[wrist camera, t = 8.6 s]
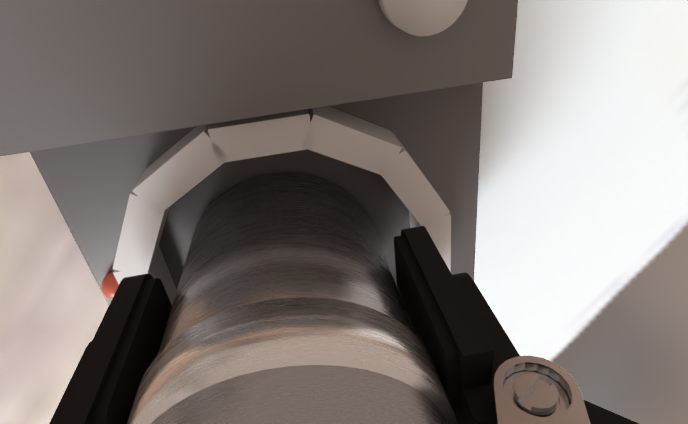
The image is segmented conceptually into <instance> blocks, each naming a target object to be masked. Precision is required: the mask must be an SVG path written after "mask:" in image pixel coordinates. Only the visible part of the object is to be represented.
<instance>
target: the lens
mask: <svg viewBox="0 0 688 424" xmlns="http://www.w3.org/2000/svg"><path fill="white" fill-rule="evenodd" d="M127 424H458V423H457V420H456V417H455V414H454V412H453V409H452V407H451V404H450V402H449V399H448V397H447V394H446V392H445V389H444V387H443V384H442V382H441V379H440V377H439V374H438V372H437V369H436V367H435V364H434V361H433V359H432V357H431V355H430V354H429V352H428V350H427V348H426V347H425V345H424V344H423V343H422V342H421V340H420V339H419V338H418V337H417V336H416V335H415V334H414V332H413V329H412V326H411V324H410V321H409V318H408V316H407V313H406V310H405V308H404V305H403V302H402V300H401V297H400V294H399V292H398V289H397V286H396V284H395V281H394V278H393V276H392V273H391V270H390V268H389V265H388V262H387V260H386V257H385V254H384V252H383V249H382V246H381V244H380V241H379V238H378V236H377V233H376V230H375V228H374V225H373V222H372V220H371V218H370V216H369V214H368V212H367V211H366V210H365V208H364V207H363V206H362V204H361V203H360V202H359V201H358V200H357V199H356V198H355V197H354V196H353V195H352V194H350V193H349V192H348V191H347V190H345V189H344V188H342V187H340V186H339V185H337V184H335V183H333V182H331V181H328V180H326V179H323V178H321V177H317V176H313V175H309V174H303V173H293V172H280V173H270V174H265V175H261V176H256V177H253V178H250V179H248V180H245V181H242V182H240V183H238V184H236V185H234V186H232V187H231V188H229V189H228V190H226V191H225V192H223V193H222V194H220V195H219V196H218V197H217V198H216V199H215V200H214V201H213V202H212V203H211V204H210V205H209V206H208V207H207V209H206V210H205V211H204V213H203V214H202V216H201V218H200V219H199V221H198V223H197V226H196V228H195V231H194V234H193V237H192V240H191V244H190V247H189V251H188V254H187V257H186V261H185V264H184V268H183V271H182V274H181V278H180V281H179V285H178V288H177V291H176V295H175V298H174V302H173V305H172V308H171V312H170V315H169V319H168V322H167V325H166V329H165V332H164V336H163V339H162V342H161V346H160V349H159V353H158V355H157V357H156V358H155V359H154V360H153V361H152V363H151V364H150V366H149V367H148V369H147V370H146V372H145V373H144V376H143V378H142V380H141V383H140V385H139V387H138V390H137V393H136V397H135V400H134V403H133V406H132V409H131V412H130V416H129V419H128V422H127Z"/></svg>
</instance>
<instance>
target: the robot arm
mask: <svg viewBox="0 0 688 424" xmlns="http://www.w3.org/2000/svg"><path fill="white" fill-rule="evenodd" d="M394 252H395V266H396V281H397V289H398V292H399V294H400V297H401V300H402V302H403V305H404V308H405V310H406V313H407V316H408V318H409V321H410V324H411V326H412V329H413V332H414V334H415V335H416V336H417V337H418V338H419V339H420V340H421V342H422V343H423V344H424V345H425V347H426V348H427V350H428V352H429V354H430V355H431V357H432V359H433V361H434V364H435V367H436V369H437V372H438V374H439V377H440V379H441V382H442V384H443V387H444V389H445V392H446V394H447V397H448V399H449V402H450V404H451V407H452V409H453V412H454V414H455V417H456V420H457V423H458V424H638V423H636V422H633V421H631V420H629V419H627V418H624V417H622V416H620V415H617V414H615V413H613V412H610V411H608V410H606V409H604V408H601V407H599V406H597V405H594V404H592V403H589V402H587V401H585V400H583V396H582V393H581V391H580V389H579V387H578V385H577V383H576V381H575V380H574V378H573V377H572V376H571V375H570V374H569V373H568V372H567V371H566V370H564V369H563V368H562V367H560V366H559V365H557V364H556V363H553V362H551V361H549V360H546V359H544V358H539V357H534V356H519V354H518V352H517V351H516V349H515V347H514V346H513V344H512V343H511V341H510V339H509V338H508V336H507V335H506V333H505V331H504V330H503V328H502V326H501V325H500V323H499V322H498V320H497V318H496V317H495V315H494V313H493V312H492V310H491V309H490V307H489V305H488V304H487V302H486V300H485V299H484V297H483V296H482V294H481V292H480V291H479V289H478V287H477V286H476V284H475V283H474V281H473V279H472V278H471V277H470V275H469V274H468V273H466V272H465V273H459V274H453V275H452V274H451V272H450V271H449V269H448V267H447V265H446V263H445V262H444V260H443V258H442V256H441V254H440V253H439V251H438V249H437V247H436V246H435V244H434V242H433V240H432V238H431V237H430V235H429V233H428V231H427V229H426V228H425V227H424V226H419V227H414V228H408V229H402V230H401V236H396V237H394ZM171 308H172V304H171V302H170V300H169V297H168V295H167V292H166V290H165V288H164V285H163V283H162V281H161V280H160V279H159V278H155V279H154V278H153V276H152V275H151V274H142V275H136V276H131V277H125V278H123V279H122V280H121V282H120V284H119V286H118V288H117V290H116V292H115V295H114V297H113V299H112V301H111V303H110V305H109V307H108V309H107V311H106V313H105V316H104V318H103V320H102V322H101V324H100V326H99V328H98V330H97V332H96V334H95V337H94V339H93V341H91V342H90V343H89V345H88V346H87V348H86V349H85V351H84V354H83V356H82V358H81V360H80V362H79V364H78V366H77V368H76V370H75V372H74V374H73V376H72V378H71V380H70V382H69V384H68V387H67V389H66V391H65V393H64V395H63V397H62V399H61V401H60V403H59V405H58V407H57V409H56V411H55V413H54V415H53V418H52V420H51V422H50V424H127V422H128V419H129V416H130V412H131V409H132V406H133V403H134V400H135V397H136V393H137V390H138V387H139V385H140V383H141V380H142V378H143V376H144V373H145V372H146V370H147V369H148V367H149V366H150V364H151V363H152V361H153V360H154V359H155V358H156V357H157V355H158V353H159V349H160V346H161V342H162V339H163V336H164V332H165V329H166V325H167V322H168V319H169V315H170V312H171Z"/></svg>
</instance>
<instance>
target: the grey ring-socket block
mask: <svg viewBox="0 0 688 424" xmlns="http://www.w3.org/2000/svg"><path fill="white" fill-rule="evenodd" d="M517 5H518V0H0V156H5V155H11V154H18V153H24V152H30V153H31V155H32V157H33V159H34V161H35V163H36V165H37V167H38V169H39V171H40V173H41V175H42V177H43V179H44V181H45V183H46V184H47V186H48V188H49V190H50V192H51V194H52V196H53V198H54V200H55V202H56V204H57V206H58V208H59V210H60V212H61V214H62V215H63V217H64V219H65V221H66V223H67V225H68V227H69V229H70V231H71V233H72V235H73V237H74V239H75V241H76V243H77V245H78V247H79V248H80V250H81V252H82V254H83V256H84V258H85V260H86V262H87V264H88V266H89V268H90V270H91V272H92V274H93V276H94V278H95V279H96V281H97V283H98V285H99V287H100V289H101V291H102V293H103V295H104V297H105V299H106V301H107V303H108V305H110V303H111V301H112V299H113V297H114V295H115V292H116V290H117V288H118V286H119V284H120V282H121V280H122V279H123V278H125V277H131V276H136V275H142V274H151V275H152V276H153V278H154V279H155V278H159V279H160V280H161V281H162V283H163V285H164V288H165V290H166V292H167V295H168V297H169V300H170V302H171V304H172V305H173V302H174V298H175V295H176V291H177V288H178V285H179V281H180V278H181V274H182V271H183V268H184V264H185V261H186V257H187V254H188V251H189V247H190V244H191V240H192V237H193V234H194V231H195V228H196V226H197V223H198V221H199V219H200V218H201V216H202V214H203V213H204V211H205V210H206V209H207V207H208V206H209V205H210V204H211V203H212V202H213V201H214V200H215V199H216V198H217V197H218V196H219V195H220V194H222V193H223V192H225V191H226V190H228V189H229V188H231V187H232V186H234V185H236V184H238V183H240V182H242V181H245V180H248V179H250V178H253V177H256V176H261V175H265V174H270V173H280V172H293V173H303V174H309V175H313V176H317V177H321V178H323V179H326V180H328V181H331V182H333V183H335V184H337V185H339V186H340V187H342V188H344V189H345V190H347V191H348V192H349V193H350V194H352V195H353V196H354V197H355V198H356V199H357V200H358V201H359V202H360V203H361V204H362V206H363V207H364V208H365V210H366V211H367V212H368V214H369V216H370V218H371V220H372V222H373V225H374V228H375V230H376V233H377V236H378V238H379V241H380V244H381V246H382V249H383V252H384V254H385V257H386V260H387V262H388V265H389V268H390V270H391V273H392V276H393V278H394V281H395V284H396V286H397V281H396V266H395V252H394V237H396V236H401V230H402V229H408V228H414V227H419V226H424V227H425V228H426V229H427V231H428V233H429V235H430V237H431V238H432V240H433V242H434V244H435V246H436V247H437V249H438V251H439V253H440V254H441V256H442V258H443V260H444V262H445V263H446V265H447V267H448V269H449V271H450V272H451V274H452V275H453V274H459V273H465V272H466V273H468V274H469V275H470V277H471V278H472V279H473V281H474V262H475V240H476V218H477V196H478V174H479V152H480V130H481V108H482V86H483V82H487V81H494V80H500V79H507V78H512V69H513V56H514V44H515V31H516V18H517Z"/></svg>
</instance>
